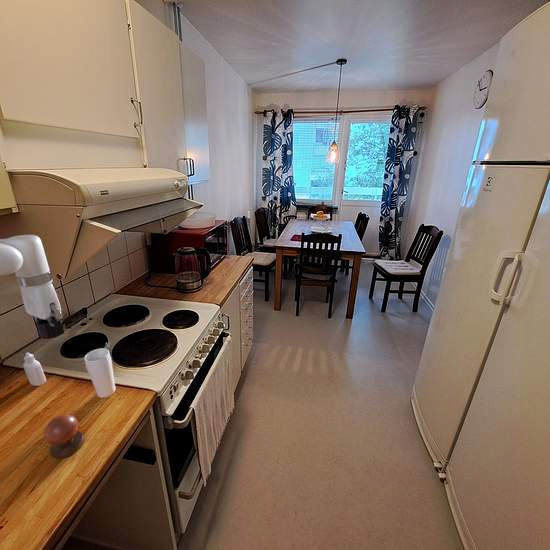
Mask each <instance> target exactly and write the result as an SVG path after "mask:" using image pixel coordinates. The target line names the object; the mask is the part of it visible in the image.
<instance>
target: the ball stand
mask: <svg viewBox="0 0 550 550" xmlns="http://www.w3.org/2000/svg"><path fill="white" fill-rule="evenodd" d="M43 435H44V440H45V441H46V442H47V443H48V444H50V446H49V454H50V456H51V457H52V458H53V459H54V460H64V459H67V458H69V457H71V456H73V455H75V454H76V453H78V451H79V450H80V449H81V448H82V447H83V445H84V442H85V437H84V435H83V433H82V431H80V430H79V421H78V419H77V417H75V416H74V415H72V414H68V413H63V414H60V415H57V416H55V417H54V418H52V419H51V420H50V421H49V422H48V423H47V425H46V426H45V429H44V434H43Z"/></svg>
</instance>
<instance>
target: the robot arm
mask: <svg viewBox="0 0 550 550" xmlns="http://www.w3.org/2000/svg"><path fill="white" fill-rule="evenodd" d="M11 274H15V275H14V276H15V278H16V281H17V283H18V284H17V285H18V286H19V288H20V295H21V298H22V303H23V307H24V310H25V312H26V313H27V314H28V315H30V316H32V317H33V318H34V321H35V322H36V321H38V320H39V319H44V320H45V319H47V320H48V322H49V324H50V326H49V329H50V332H51V335H52V337H53V338H52V339H55V338H57V337H59V336H62V335H63V334H65V330H64V327H63V318H64V315H63V314H62V307H61V304H60V300H59V298H58V294H57V291H56V290H55V287H54V286H53V277H52V273H51V270H50V267H49V263H48V259H47V255H46V252H45V249H44V245H43V243H42V240H41V238H40V237H39V236H38V235H35V234H20V235H14V236H11V237H8V238H0V276H1V277H3V276H8V275H11ZM54 316H55V319H53V321H52V320H51V318H52V317H54Z"/></svg>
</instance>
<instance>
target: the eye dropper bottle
mask: <svg viewBox="0 0 550 550" xmlns="http://www.w3.org/2000/svg"><path fill="white" fill-rule="evenodd" d="M23 360H24V363H23V364H22V366H23V369H24V372H25V375H26V377H27V380H28V382H29V384H30V385H31V386H35V387H40V386H42V385H44V384H46V383H47V378H46V375H45V373H44V370H43V367H42V364H41V363H40V362H39V361H38V360H36V359H35V356H34V354H31V353H30V352H26V353H25V356H24V357H23Z"/></svg>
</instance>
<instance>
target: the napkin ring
mask: <svg viewBox="0 0 550 550" xmlns="http://www.w3.org/2000/svg"><path fill="white" fill-rule="evenodd" d="M53 319H55V316H54V317H52V318H51V320H52V321H53ZM35 324H36V328H37V330H38V334H39V336H40V338H41V339H43V340H50V339H54V338H53V337H52V335H51V332H50V329H49V326H50V324H49V322H48V320H47V319H45V320H44V319H39V320H37V321H36V320H35Z"/></svg>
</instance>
